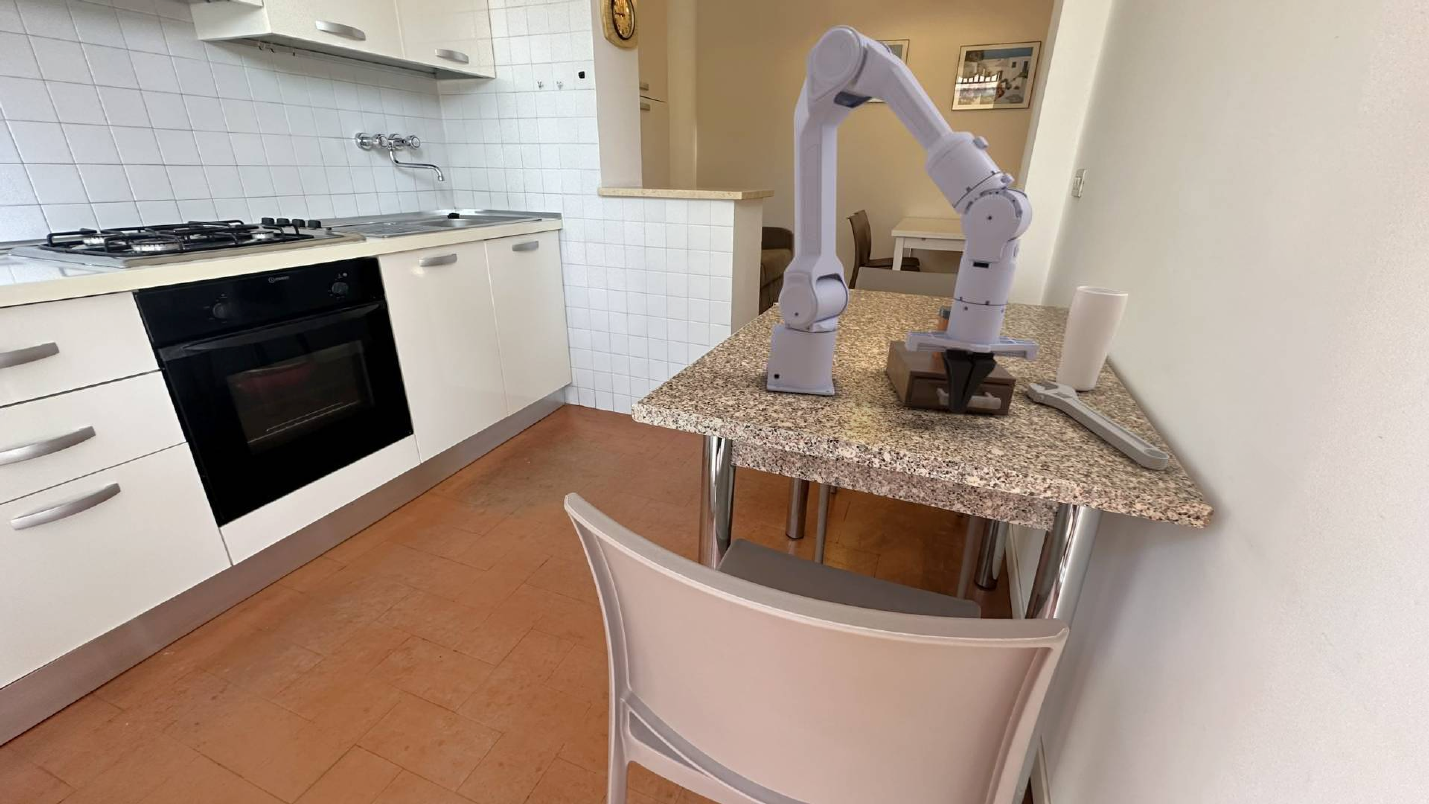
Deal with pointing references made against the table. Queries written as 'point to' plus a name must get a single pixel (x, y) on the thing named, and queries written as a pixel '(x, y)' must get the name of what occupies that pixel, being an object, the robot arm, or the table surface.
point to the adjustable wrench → (1098, 424)
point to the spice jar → (942, 325)
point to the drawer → (983, 398)
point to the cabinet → (930, 373)
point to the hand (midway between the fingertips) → (956, 410)
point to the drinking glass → (1089, 335)
